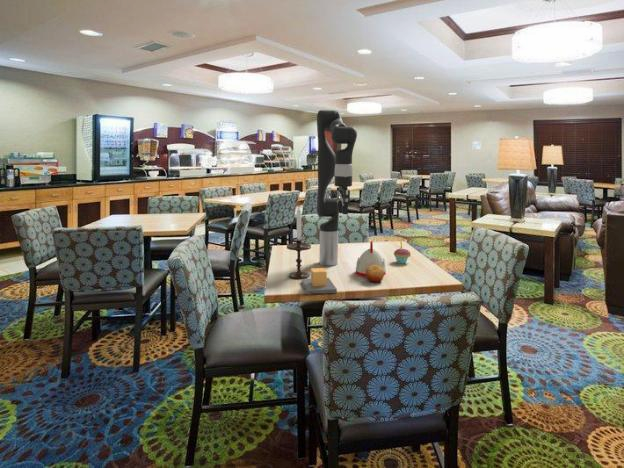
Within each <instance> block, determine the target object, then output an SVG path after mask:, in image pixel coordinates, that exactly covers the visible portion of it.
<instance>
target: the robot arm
mask: <svg viewBox="0 0 624 468" xmlns="http://www.w3.org/2000/svg"><path fill="white" fill-rule="evenodd" d="M343 121H344V120H343V118H342V116H341V114H340V112H339V111H337V110H333V109H332V110H329V109H328V110H326V109H324V110H323V109H321V110H318V111H317V114H316V129H317V130H316V131H317V200H316V214H317V216H318V217H321V218H326V217H327V218H330V219H329V220H328V221H325V222H322V223H321V224H320V225H319V264H320V265H322V266H326V267H327V266H335V265H338V261H339V259H338V256H339V218H340V217H339V216H340V212H341V214H342V215H348V212H349V205H350V204H351V202H350V201H351V190H350V189H349V188H348V187H352V186H353V152H354V147H355V144H356V141H357V137H358V131H357V129H356V128H355V127H354V126H347V125H346V123H344V122H343ZM325 131H329V132H330V133H331V141H332V142H333V143H334V144H336V145H337V144H338V145H346V147H345V148H342V149H338V150H336V152H334V150H333V149H332V147H331V145H330V144H329V142H328V139H327V137H326V133H325ZM333 179H334V186H335V187H336V198H335V197H333V198H332V197H329V198H328V197H326V198H325V195H326V190H327V189H328V186H329V184H330V183H331V182H332V180H333Z"/></svg>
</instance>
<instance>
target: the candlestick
mask: <svg viewBox="0 0 624 468" xmlns="http://www.w3.org/2000/svg"><path fill="white" fill-rule="evenodd" d="M300 202H301V201H300V200H299V199H298V200H297V209H296V238H295V239H294V241H295V242H293V243H288V244H286V249H287V250H289V251H295V252H296V253H297V254H296V255H297V258H296V259H295V262H296V265H295V266H296V268H297V270H296V271H292V272H290V273H288V278H290V279H293V280H302V279H305V278H306V279H309V277H310V276H309V275H310V274H309V273H308V272H306V271H301V267H302V265H301V263H302V261H303V260H302V258H301V252H302V251H308V250H311V248H312V245H311V244H310V243H305V242H302V241H304V239H303V238H302V209H300V204H301V203H300Z"/></svg>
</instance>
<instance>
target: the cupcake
mask: <svg viewBox="0 0 624 468" xmlns="http://www.w3.org/2000/svg"><path fill="white" fill-rule="evenodd" d="M411 255H412V254H411V252H410V250H408V249H406V248H403V240H402V239H400V248H397V249H395V250H394V252H393V256H394V258H395V260H396V263H398V264H406V263H407V261H408V259H409V257H411Z"/></svg>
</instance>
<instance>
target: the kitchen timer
mask: <svg viewBox="0 0 624 468" xmlns="http://www.w3.org/2000/svg"><path fill="white" fill-rule="evenodd" d="M369 242H370V243H369V244H370V245H369V248H368V249H366V250H364V251H363V252H362V254H361V255H360V256H359V257H357V259H356V263H355V264H356V265H355V266H356V267H355V274H356V275H357V276H359V277H363V278H367V276H366V269H367V268H368V267H369V266H372V265H378V266H380V267H381V268H383V271H384V275H385V276H386V272H387V271H386V262H385V258H383V256H382V255H381V254H380V253H379V251H378V250H376V249H375V248H373V246H374V243H373V241H369Z"/></svg>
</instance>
